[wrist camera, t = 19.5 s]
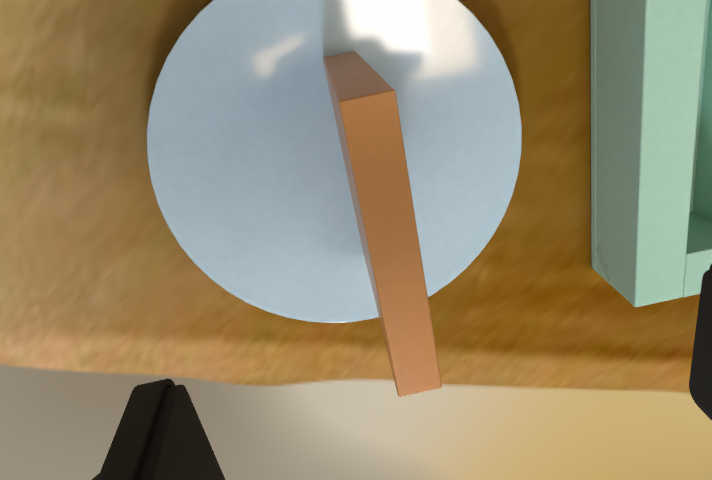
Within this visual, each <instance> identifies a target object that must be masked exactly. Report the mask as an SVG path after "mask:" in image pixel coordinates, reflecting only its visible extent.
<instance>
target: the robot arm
mask: <svg viewBox="0 0 712 480" xmlns="http://www.w3.org/2000/svg"><path fill="white" fill-rule="evenodd" d="M689 389H690V393H691V396H692V398H693V400H694V401H695V403H696V404H697V405H698V407H699V408H700V409H701V410H702V411H703V412H704V413H705V414H706V415H707V416H708V417H709V418H710V419H711V420H712V264H711V265H710V268H709V270H707V271H705V273H704V274H703V277H702V284H701V292H700V300H699V308H698V316H697V325H696V333H695V341H694V349H693V357H692V365H691V373H690V381H689ZM92 480H225V478H224V476H223V473H222V471H221V469H220V467H219V464H218V462H217V459H216V457H215V455H214V452H213V450H212V448H211V445H210V443H209V441H208V438H207V436H206V434H205V431H204V429H203V427H202V424H201V422H200V420H199V417H198V415H197V413H196V410H195V408H194V406H193V403H192V401H191V399H190V396H189V394H188V392H187V390H186V388H185V386H184V385H176V386H175V384H174V382H173V381H172V380H171V379H165V380H160V381H155V382H151V383H146V384H141V385H137V386H136V387H134V389H133V391H132V393H131V396H130V399H129V401H128V403H127V406H126V408H125V411H124V414H123V416H122V419H121V421H120V424H119V426H118V429H117V431H116V434H115V436H114V439H113V441H112V444H111V447H110V449H109V452H108V454H107V457H106V459H105V462H104V464H103V467H102V469H101V472H100V474H98V475H97V476H96V477H94V478H93V479H92Z"/></svg>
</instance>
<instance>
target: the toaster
mask: <svg viewBox="0 0 712 480" xmlns="http://www.w3.org/2000/svg"><path fill="white" fill-rule="evenodd" d="M590 1H591V260H592V268H593V269H594V270H595V271H597V272H598V273H599V274H600V275H601V276H602V277H603V278H604V279H605V280H606V281H607V282H608V283H610V284H611V285H612V286H613V287H614V288H615V289H616V290H617V291H618V292H619V293H620V294H621V295H623V296H624V297H625V298H626V299H627V300H628V301H629V302H630V303H631V304H632V305H633V306H634V307H639V306H644V305H648V304H653V303H658V302H662V301H667V300H671V299H676V298H681V297H682V296H683V297H687V296H691V295H696V294H700V292H701V284H702V277H703V274H704V273H705V271H707V270H709V268H710V265H711V264H712V0H590Z"/></svg>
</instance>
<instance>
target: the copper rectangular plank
mask: <svg viewBox="0 0 712 480" xmlns="http://www.w3.org/2000/svg"><path fill="white" fill-rule="evenodd" d="M323 62H324V67H325V72H326V76H327V81H328V86H329V91H330V95H331V100H332V105H333V110H334V115H335V119H336V124H337V129H338V134H339V139H340V143H341V148H342V153H343V158H344V163H345V167H346V172H347V177H348V182H349V186H350V191H351V196H352V201H353V206H354V210H355V215H356V220H357V225H358V230H359V234H360V239H361V244H362V249H363V254H364V258H365V262H366V266H367V270H368V274H369V278H370V282H371V286H372V290H373V294H374V299H375V303H376V307H377V311H378V315H379V319H380V323H381V327H382V331H383V335H384V339H385V343H386V347H387V352H388V356H389V360H390V364H391V368H392V372H393V376H394V380H395V384H396V388H397V392H398V396H400V397H401V396H406V395H410V394H415V393H419V392H423V391H429V390H433V389H437V388H441V387H442V384H441V378H440V371H439V365H438V359H437V352H436V346H435V340H434V333H433V327H432V321H431V314H430V308H429V301H428V295H427V289H426V282H425V276H424V270H423V263H422V257H421V251H420V244H419V238H418V231H417V225H416V219H415V212H414V206H413V200H412V193H411V187H410V181H409V174H408V168H407V161H406V155H405V149H404V142H403V136H402V130H401V123H400V117H399V111H398V104H397V98H396V91H395V90H394V89H393V88H392V87H391V86H390V85H389V84H388V83H387V82H386V81H385V80H384V79H383V78H382V77H381V76H380V75H379V74H378V73H377V72H376V71H375V70H374V69H373V68H372V67H371V66H370V65H369V64H368V63H367V62H366V61H365V60H364V59H363V58H362V57H361V56H360V55H359V54H358V53H357V52H356V51H353V52H348V53H344V54H339V55H334V56H330V57H325V58H323Z"/></svg>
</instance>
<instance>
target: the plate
mask: <svg viewBox="0 0 712 480" xmlns="http://www.w3.org/2000/svg"><path fill="white" fill-rule="evenodd" d="M353 51H356V52H357V53H358V54H359V55H360V56H361V57H362V58H363V59H364V60H365V61H366V62H367V63H368V64H369V65H370V66H371V67H372V68H373V69H374V70H375V71H376V72H377V73H378V74H379V75H380V76H381V77H382V78H383V79H384V80H385V81H386V82H387V83H388V84H389V85H390V86H391V87H392V88H393V89H394V90H395V91H396V98H397V104H398V111H399V117H400V123H401V130H402V136H403V142H404V149H405V155H406V161H407V168H408V174H409V181H410V187H411V193H412V200H413V206H414V212H415V219H416V225H417V231H418V238H419V244H420V251H421V257H422V263H423V270H424V276H425V282H426V289H427V295H428V297H429V296H431V295H432V294H434V293H435V292H437V291H438V290H440V289H441V288H443V287H444V286H446V285H447V284H448V283H450V282H451V281H452V280H453V279H454V278H456V277H457V276H458V275H459V274H460V273H461V272H462V271H464V270H465V269H466V268H467V267H468V266H469V265H470V263H471V262H472V261H473V260H474V259H475V258H476V257H477V256H478V255H479V254H480V252H481V251H482V250H483V248H484V247H485V246H486V244H487V243H488V241H489V240H490V239H491V237H492V236H493V234H494V232H495V231H496V229H497V227H498V225H499V223H500V222H501V220H502V218H503V216H504V214H505V212H506V209H507V207H508V204H509V202H510V199H511V197H512V194H513V190H514V187H515V183H516V179H517V175H518V171H519V163H520V156H521V118H520V110H519V102H518V98H517V95H516V91H515V87H514V84H513V80H512V77H511V75H510V72H509V70H508V67H507V65H506V63H505V60H504V58H503V56H502V54H501V52H500V51H499V49H498V47H497V46H496V44H495V42H494V40H493V39H492V37H491V35H490V34H489V33H488V31H487V30H486V29H485V28H484V26H483V25H482V24H481V23H480V21H479V20H478V19H477V18H476V16H475V15H474V14H473V13H472V12H471V11H470V10H469V9H468V8H467V7H466V6H464V5H463V4H462V3H461V2H460V1H459V0H212V1H211V2H210V3H209V4H208V5H207V6H206V7H205V8H203V9H202V10H201V11H200V12H199V13H198V14H197V15H196V17H195V18H194V19H193V20H192V21H191V23H190V24H189V25H188V26H187V27H186V28H185V30H184V31H183V32H182V33H181V35H180V36H179V38H178V40H177V41H176V43H175V45H174V46H173V48H172V49H171V51H170V53H169V54H168V56H167V58H166V60H165V63H164V65H163V67H162V70H161V72H160V74H159V77H158V79H157V81H156V85H155V89H154V92H153V96H152V100H151V104H150V109H149V117H148V125H147V158H148V165H149V171H150V177H151V182H152V186H153V189H154V192H155V196H156V199H157V202H158V205H159V207H160V209H161V212H162V214H163V216H164V218H165V220H166V223H167V225H168V227H169V228H170V230H171V231H172V233H173V235H174V236H175V238H176V239H177V241H178V243H179V244H180V246H181V247H182V248H183V249H184V251H185V252H186V253H187V254H188V256H189V257H190V258H191V259H192V261H193V262H194V263H195V264H196V265H197V266H198V267H199V268H200V269H201V270H202V271H203V272H204V273H205V274H206V275H208V276H209V277H210V278H211V279H212V280H213V281H215V282H216V283H217V284H219V285H220V286H221V287H223V288H224V289H225V290H227V291H228V292H230V293H231V294H233V295H235V296H237V297H238V298H240V299H242V300H243V301H245V302H247V303H249V304H251V305H254V306H256V307H258V308H261V309H263V310H265V311H268V312H271V313H274V314H278V315H281V316H284V317H288V318H293V319H299V320H304V321H311V322H326V323H337V322H354V321H360V320H366V319H372V318H376V317H379V315H378V311H377V307H376V303H375V299H374V294H373V290H372V286H371V282H370V278H369V274H368V270H367V266H366V262H365V258H364V254H363V249H362V244H361V239H360V234H359V230H358V225H357V220H356V215H355V210H354V206H353V201H352V196H351V191H350V186H349V182H348V177H347V172H346V167H345V163H344V158H343V153H342V148H341V143H340V139H339V134H338V129H337V124H336V119H335V115H334V110H333V105H332V100H331V95H330V91H329V86H328V81H327V76H326V72H325V67H324V62H323V58H325V57H330V56H334V55H339V54H344V53H348V52H353Z"/></svg>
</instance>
